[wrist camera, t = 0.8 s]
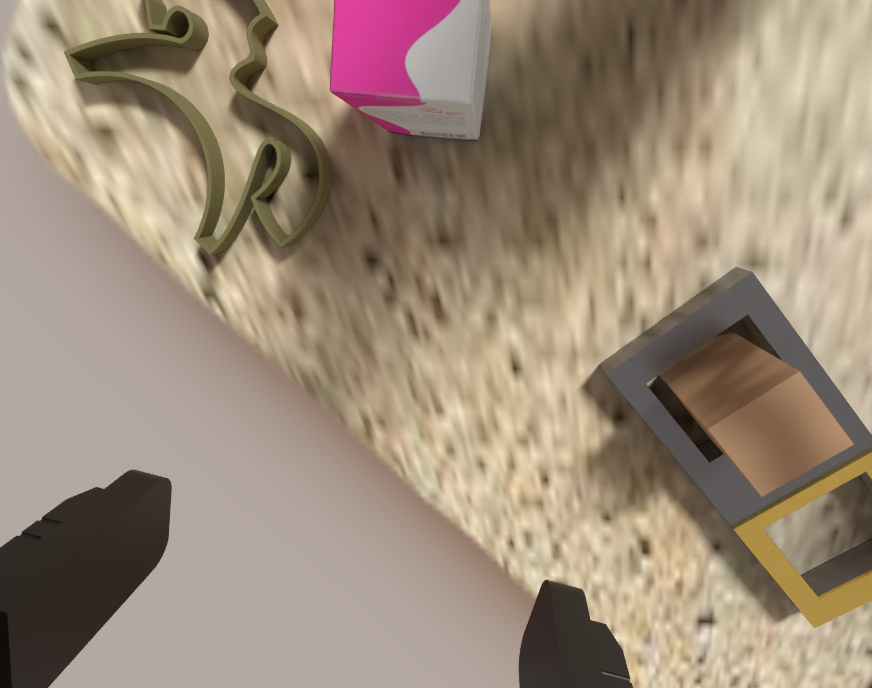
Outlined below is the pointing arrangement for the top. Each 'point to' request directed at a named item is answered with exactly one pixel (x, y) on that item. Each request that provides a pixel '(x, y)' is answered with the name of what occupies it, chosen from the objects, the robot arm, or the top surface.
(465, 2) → the supplement box
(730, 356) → the block
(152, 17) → the cookie cutter
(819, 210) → the top surface
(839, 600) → the gray slotted board
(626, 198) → the top surface
